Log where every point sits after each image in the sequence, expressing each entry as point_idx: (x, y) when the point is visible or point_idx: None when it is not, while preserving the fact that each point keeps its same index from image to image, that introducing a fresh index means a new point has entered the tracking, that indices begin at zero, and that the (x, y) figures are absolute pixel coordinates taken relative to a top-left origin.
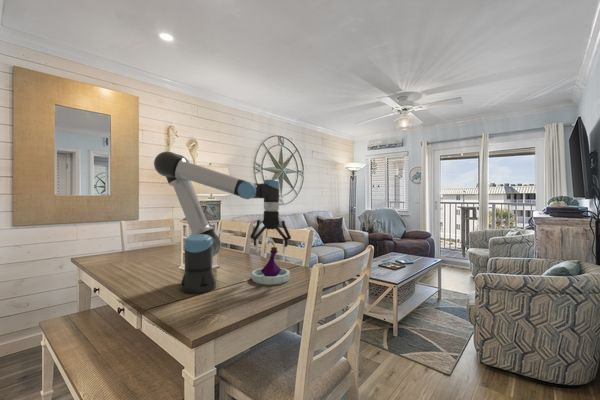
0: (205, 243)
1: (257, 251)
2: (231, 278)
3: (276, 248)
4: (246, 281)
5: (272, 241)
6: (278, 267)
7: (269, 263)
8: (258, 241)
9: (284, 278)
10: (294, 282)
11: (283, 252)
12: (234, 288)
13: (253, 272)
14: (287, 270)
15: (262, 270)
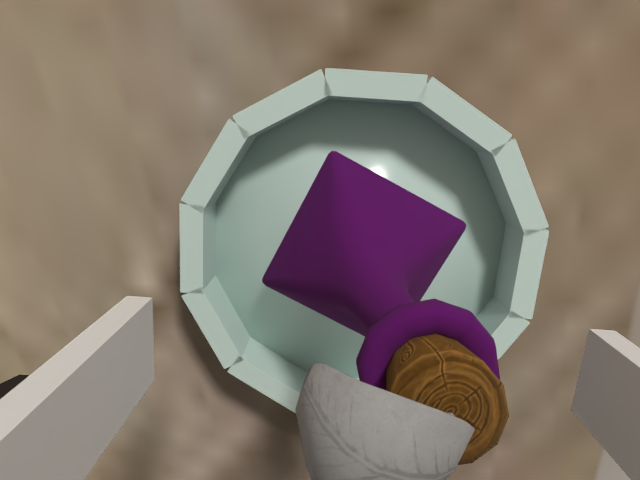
0: None
1: (145, 374)
2: (23, 236)
3: (494, 427)
4: (169, 312)
5: (438, 450)
6: (442, 253)
7: (348, 311)
8: (38, 419)
9: None
10: (552, 331)
11: (593, 425)
12: (132, 456)
13: (194, 283)
14: (528, 201)
15: (277, 290)
